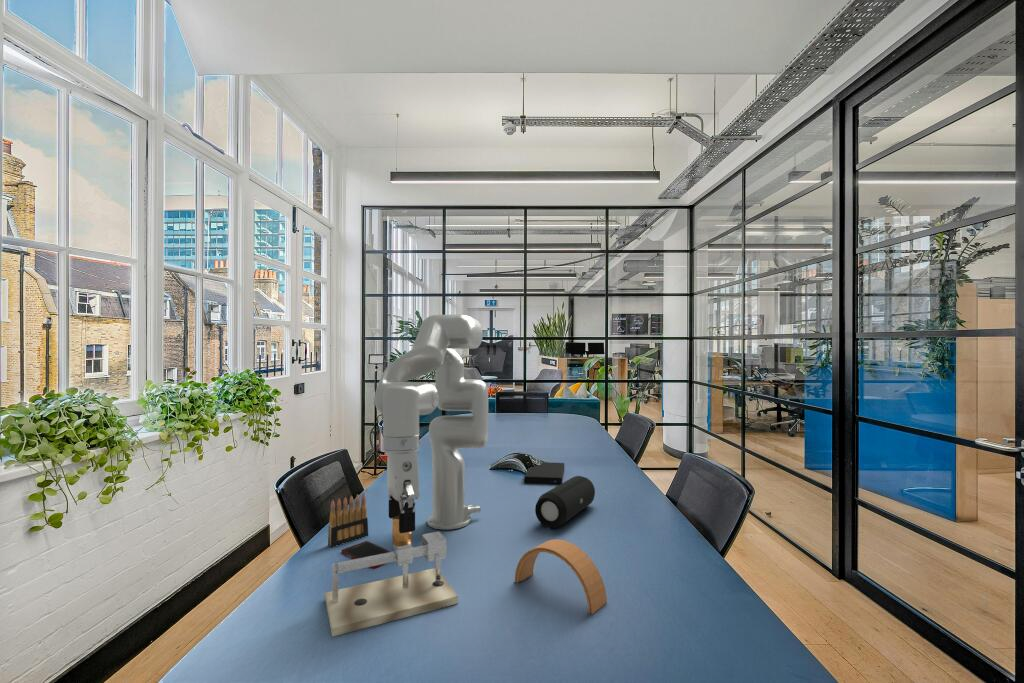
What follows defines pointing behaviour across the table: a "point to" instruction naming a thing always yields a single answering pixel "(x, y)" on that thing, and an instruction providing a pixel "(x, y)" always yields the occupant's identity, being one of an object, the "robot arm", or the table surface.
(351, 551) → the cell phone
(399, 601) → the hole plate
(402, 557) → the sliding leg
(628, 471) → the table surface
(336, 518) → the ammunition clip
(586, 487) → the portable speaker
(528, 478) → the external hard drive
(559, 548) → the arch
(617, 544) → the table surface
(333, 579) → the frame
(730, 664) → the table surface
